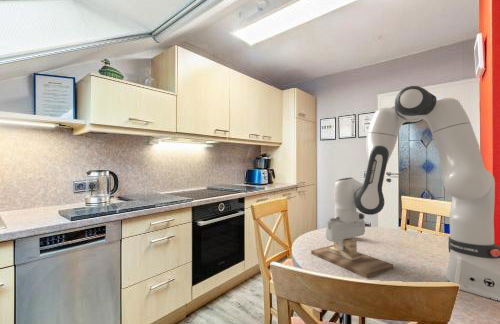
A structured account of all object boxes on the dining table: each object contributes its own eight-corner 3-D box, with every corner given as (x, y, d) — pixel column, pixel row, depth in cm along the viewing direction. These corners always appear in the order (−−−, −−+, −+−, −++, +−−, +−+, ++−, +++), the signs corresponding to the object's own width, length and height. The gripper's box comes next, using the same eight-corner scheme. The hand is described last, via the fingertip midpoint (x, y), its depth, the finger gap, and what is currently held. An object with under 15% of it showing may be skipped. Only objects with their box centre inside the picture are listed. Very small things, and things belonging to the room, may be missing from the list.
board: (393, 268, 94) (393, 264, 94) (366, 278, 86) (366, 273, 86) (336, 247, 119) (336, 244, 119) (311, 253, 111) (311, 250, 111)
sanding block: (361, 258, 101) (361, 241, 101) (352, 261, 98) (351, 243, 98) (338, 249, 111) (338, 234, 111) (329, 252, 108) (328, 236, 109)
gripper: (333, 220, 97) (334, 255, 96) (367, 214, 106) (368, 246, 106) (322, 217, 102) (322, 250, 102) (354, 212, 112) (355, 242, 112)
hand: (346, 248), depth 104 cm, fingers closed on sanding block, 4 cm apart
